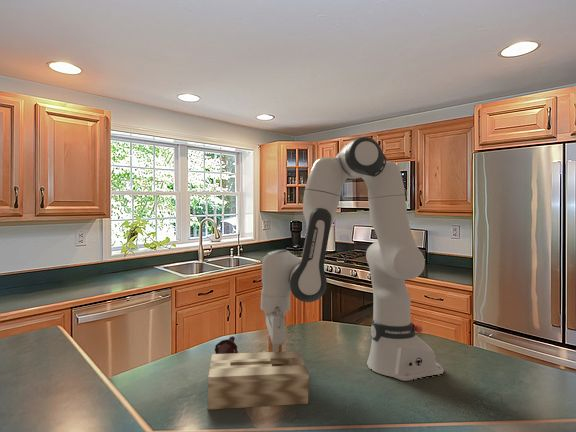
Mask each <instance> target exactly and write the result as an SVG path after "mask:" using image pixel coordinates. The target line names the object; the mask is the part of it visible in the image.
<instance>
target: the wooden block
mask: <svg viewBox="0 0 576 432" xmlns="http://www.w3.org/2000/svg"><path fill="white" fill-rule="evenodd" d="M272 346H273V344H272V341H271V338H270V335H267V336H266V352H272ZM282 347H283V346H282V345H279V352H283V350H282V349H283V348H282Z"/></svg>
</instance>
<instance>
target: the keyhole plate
mask: <svg viewBox="0 0 576 432" xmlns="http://www.w3.org/2000/svg"><path fill="white" fill-rule="evenodd" d="M208 371H209V372H208V376H207V379H208V380H207V381H208V382H207V408H206V409H207V410H221V409H222V410H223V409H224V410H226V409H238V408H239V409H240V408H241V409H243V408H256V407H258V408H260V407H270V406H271V407H273V406H289V405H290V406H291V405H307V404H309V379H310V375H309V370H308V368H307V367H306V364H305V362H304V360H303V358H302V356H301V354H300V352H299V351H298V350H294V351H292V350H291V351H282V352H267V351H266V352H265V351H264V352H240V353H239V352H238V353H231V354H216V353H212V354H211V359H210V364H209V370H208Z"/></svg>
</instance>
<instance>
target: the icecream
mask: <svg viewBox="0 0 576 432" xmlns="http://www.w3.org/2000/svg"><path fill="white" fill-rule="evenodd" d="M214 352H215V353H214V354H231V353H239V351H238V346H237V344H236V343H235V336H232V335H231V336H229V338H227V339H222V340H221V341H219V342H218V343H217V344H215V346H214Z"/></svg>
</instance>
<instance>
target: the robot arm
mask: <svg viewBox="0 0 576 432" xmlns="http://www.w3.org/2000/svg"><path fill="white" fill-rule="evenodd" d="M333 157H334V158H333ZM333 157H329V156H328V157H326V156H325V157H320V158H317V159H316V160H315V161H314V162H313V165H312V166H311V169H310V172H309V174H308V177H307V180H306V183H305V187H304V191H303V192H304V193H303V199H302V214H303V216H304V217H303V218H304V220H305V224H306V225H305V226H306V235H305V240H304V244H303V250H302V256H301V258H300V257H298V256H296V255H294V254H293V253H292V252H290V250H288V249H275V250H272V251H269V252H267V253H265V255H264V256H263V259H262V263H261V264H262V265H261V276H260V277H261V283H262V289H261V292H260V310H261V311H263V312H264V319H265V324H266V328H267V331H268V336H270V338H271V341H272V344H273V346H272V352H279V345H283V346H284V345H285V344H286V318H285V316H286V313H287V312H288V311H290V309H291V294H292V295H293V296H294V297H295V298H296V299H297V300H299V301H301V302H303V303H312V302H313V303H314V302H316V301H318V300H320V299H321V298H322V297H323V295H324V294H325V293H326V289H327V286H328V283H327V282H328V281H327V276H326V272H325V260H326V254H327V247H328V243H329V242H328V241H329V238H330V231H331V228H332V226H333V222H334V220H335V217H336V215H337V211H338V208H339V205H340V201H341V197H342V190H343V186H344V183H345V182H346V181H354V180H357V179H360V178H361V179H362V180H363V181H364V184H365V186H366V188H367V198H368V210H369V218H370V224H371V226H372V228H373V230H374V232H375V235H376V238H377V241H375V242H373V243H372V244H370V245H369V246H368V247H367V249H366V253H365V259H366V262H367V265H368V267H369V275H370V280H371V285H372V286H371V287H372V294H373V295H372V296H373V297H372V298H373V299H372V300H373V306H372V307H373V310H372V312H373V313H372V316H373V318H372V319H371V327H370V328H371V329H370V334H371V344H370V350H369V355H368V358H367V362H366V366H367V365H368V366H367V367H368V368H369V370H371V369H372V370H371V371H373V372H375V373H377V374H379V375H384V376H386V377H387V376H388V377H391V378H394V379H396V380H397V379H398V380H399V381H403V382H404V381H405V382H407V381H413V379H414V380H418V379H417V378H420V379H422V378H421V377H425V376H430V375H435V374H440V373H443V372H445V370H444V368H443V367H442V365H441V364H439V362H437V361H436V355H435V352H434V350H433V349H432V347H430V345H429V344H427V343H426V342H425V341H424V340H423V339H421V338H420V337H419V336H418V335H417V333H418V334H421V333H422V332H423V328H422V326H420V325H419V324H415V323H413V322H411V309H412V307H411V303H412V302H411V301H412V300H411V295H410V293H409V291H408V289H407V284H406V281H408V280H409V281H410V280H414V279H416V278H418V277H419V276H420V275H421V274H422V273H423V271H424V269H425V267H426V260H425V257H424V254H423V252H422V251H421V250H420V249H419V247H418V245H417V243H416V240H415V238H414V234H413V233H412V229H411V226H410V223H409V218H408V210H407V209H408V208H407V201H406V192H405V190H406V189H405V186H404V180H403V175H402V172H401V170H400V167H399V165H398V164H397V163H396V162H393V161H390V160H387V157H386V155H385V154H384V152H383V150H382V147H381V146H380V144H379V143H378V141H376V140H375V139H373V138H371V137H367V136H360V137H357V138H354V139H353V140H351V141H350V142H347V144H345V145H344V146H343V147H342V148H341V150H340V151H339V152H337V154H336V155H335V156H333ZM436 362H437V363H436Z"/></svg>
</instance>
